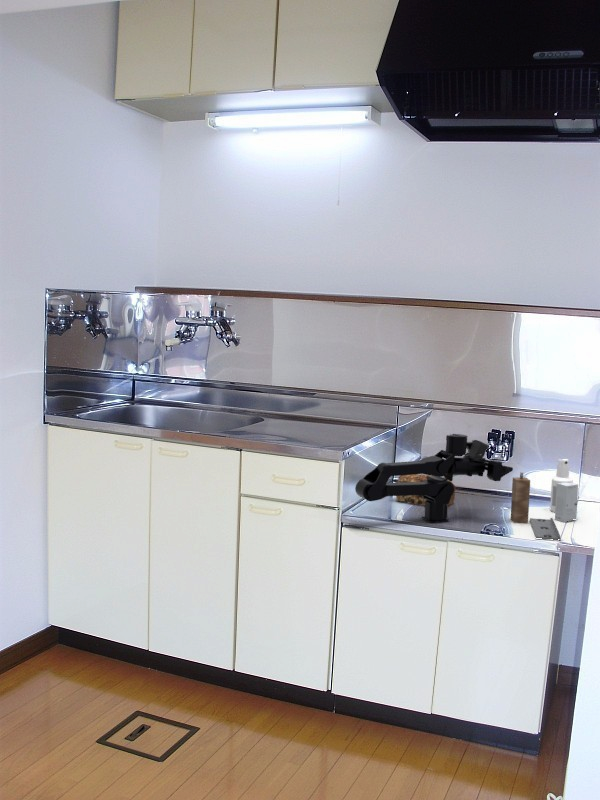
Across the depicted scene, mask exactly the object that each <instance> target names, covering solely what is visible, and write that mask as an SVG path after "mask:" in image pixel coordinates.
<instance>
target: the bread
mask: <svg viewBox="0 0 600 800" xmlns="http://www.w3.org/2000/svg"><path fill="white" fill-rule="evenodd" d="M427 476H432V475H426V474H414V475H401V476H397V477H398V479H397V481H396V483H399V482H424V481H426V480H427ZM447 481H449V480H447ZM450 482H452V481H450ZM452 484H453V485H454V493H453V495H452V496H451V499H450V501H449V504H447V506H448V507H449V506H452V505H454V502H455V498H456V497H455V496H456V485H455V484H454V483H453V482H452ZM396 501H397V502H399V503H403V502H405V503H407V504H410V505H416V506H421V505H425V501H427V500H426V499H423V496H422V495H410V496H396Z"/></svg>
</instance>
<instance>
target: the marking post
mask: <svg viewBox="0 0 600 800" xmlns="http://www.w3.org/2000/svg"><path fill="white" fill-rule="evenodd" d="M530 491H531V479H529V478H527V477H524V472H520V473H519V477H517V476H514V477H512V485H511V501H510V502H511V504H510V506H511V507H510V520H511V522H513V523H514V524H528V523H529V512H530V511H529V510H530V495H531V493H530Z"/></svg>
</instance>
